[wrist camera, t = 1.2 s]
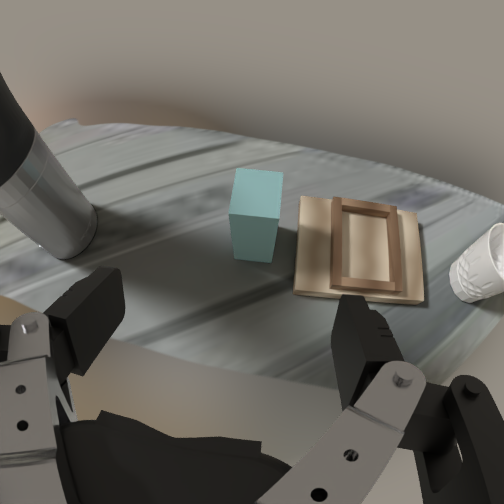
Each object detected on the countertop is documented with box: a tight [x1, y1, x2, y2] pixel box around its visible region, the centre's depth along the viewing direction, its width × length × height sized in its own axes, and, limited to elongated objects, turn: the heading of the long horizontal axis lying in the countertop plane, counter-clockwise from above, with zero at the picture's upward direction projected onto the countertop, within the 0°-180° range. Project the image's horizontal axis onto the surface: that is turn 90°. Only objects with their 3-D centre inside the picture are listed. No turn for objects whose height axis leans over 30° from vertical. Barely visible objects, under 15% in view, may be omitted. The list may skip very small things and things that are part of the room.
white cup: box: [449, 223, 504, 303], centre depth 32 cm, size 8×8×10 cm
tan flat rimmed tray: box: [293, 196, 424, 305], centre depth 36 cm, size 16×12×4 cm
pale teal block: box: [229, 168, 283, 263], centre depth 33 cm, size 4×5×11 cm
